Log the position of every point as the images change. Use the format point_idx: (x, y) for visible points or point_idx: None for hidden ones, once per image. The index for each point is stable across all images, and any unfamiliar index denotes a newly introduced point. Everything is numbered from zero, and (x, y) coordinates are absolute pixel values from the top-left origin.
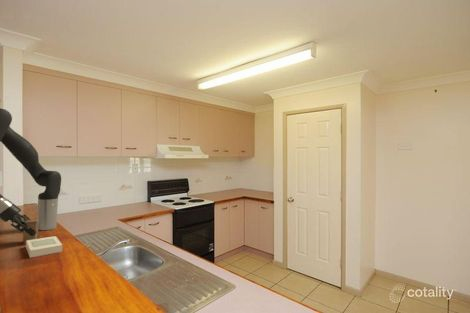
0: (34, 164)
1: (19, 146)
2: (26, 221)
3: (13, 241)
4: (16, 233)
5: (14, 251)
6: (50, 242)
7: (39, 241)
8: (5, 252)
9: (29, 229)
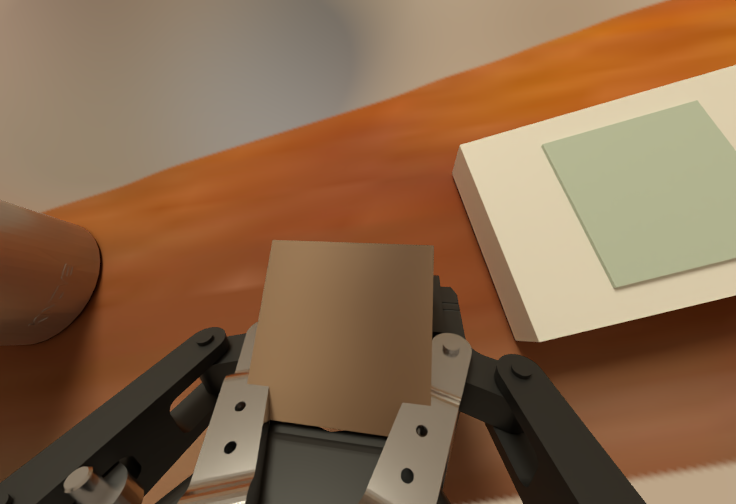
0: None
1: None
2: (330, 412)
3: None
4: None
5: (600, 406)
6: (678, 141)
7: (623, 225)
8: None
9: (458, 334)
